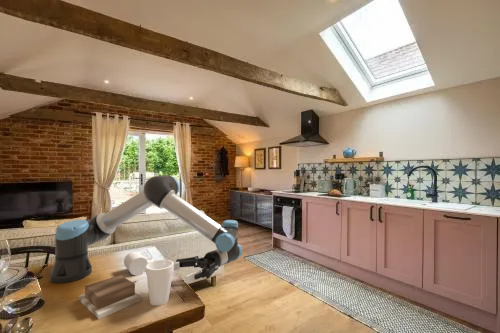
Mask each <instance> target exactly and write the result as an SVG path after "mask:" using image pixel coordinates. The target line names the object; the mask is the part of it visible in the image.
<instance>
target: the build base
mask: <svg viewBox="0 0 500 333" xmlns="http://www.w3.org/2000/svg"><path fill="white" fill-rule="evenodd" d="M142 298H143V296H142V295H140V294H139V293H137V292H136V283H135V282H133V281H131V280H130V279H127V278H126V277H124V276H122V275H121V274H119V275H116V276H115V275H114V276H113V277H110V278H106V279H102V280H100V281H97V282H93V283H90V284H87V285H85V286H84V293H83V294H80V295H78V301H79V303H81V304H82V305H83V306H84V307H85V308H86V309H87V310H88V311H89V312H91V313H92V314H93V316H94V317H95V318H97V320H100V319H104V318H105V317H108V316H109V315H110V316H111V315H112V314H114V313H116V312H118V311H121V310H124V309H126V308H129V307H131V306H133V305H135V304H137V303H139V302H142V300H143V299H142Z"/></svg>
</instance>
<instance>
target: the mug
mask: <svg viewBox="0 0 500 333" xmlns="http://www.w3.org/2000/svg"><path fill="white" fill-rule="evenodd" d="M153 261H155V258H154V257H152V256H151V257H150V256H144V255H142V254H141V253H140V252H139V251H131V252H129V253H128V254H126V255H125V257H124V260H123V265H124V266H125V267H126V269H127V270H128V272H130V274H131V275H133V276H140V275H143V273H146V265H147V264H148V263H150V262H153Z"/></svg>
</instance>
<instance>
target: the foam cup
mask: <svg viewBox="0 0 500 333" xmlns="http://www.w3.org/2000/svg"><path fill="white" fill-rule="evenodd" d="M174 263H175V262H174V261H173V260H169V259H158V260H154V261H153V262H150V263H148V264H147V265H146V270H145V275H146V279H147V288H148V289H147V290H148V296H149V302H150V303H149V304H150V305H151V306H155V307H156V306H162V305H165V304H166V303H168V301H169V299H170V292H171V285H172V282H173V281H172V280H173V274H174V271H175V270H174ZM173 270H174V271H173Z"/></svg>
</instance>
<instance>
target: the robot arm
mask: <svg viewBox="0 0 500 333" xmlns="http://www.w3.org/2000/svg"><path fill="white" fill-rule="evenodd" d="M179 191H180V183H179V181H178V179H177V178H176V177H174V176H172V175H167V174H166V175H154V176H151V177H150V178H148V179H147V180H146V181H145V183H144V185H143V190H142V191H140V192H139V193H136V195H134V196H131V197H130V198H129V199H127V200H126V201H124V202H123V203H121V204H119V205H118V206H116V207H114V208H112V209H111V210H109V211H107V212H100V213H98V214H97V215H94V216H93V217H91V218H90V219H76V220H75V219H74V220H70V221H66V222H63V223H60V224H59V225H58V226H57V227H56V230H55V235H54V240H55V242H54V243H55V244H54V246H55V247H54V248H55V249H54V250H55V254H54V256H55V257H54V263H53V265H52V268H51V270H50V273H49V276H48V278H49V282H51V283H54V284H62V283H71V282H74V281H78V280H81V279H84V278H86V277H88V276H90V274H92V273H93V267H92V264H91V263H92V262H91V260H90V258H89V255H88V254H89V252H88V251H89V249H88V248H89V246H91V245H93V244H95V243H98V242H102V241H105V239H107V238H108V237H109V236H111V234H113V233H114V232H115V231H116V228H118V227H119V226H120V225H122V224H124V223H126V222H127V221H129V220H130V219H132V218H134V217H135V216H137V215H139V214H141V213H142V212H144V211H145V210H147V209H149V208H150V207H152V206H156V207H157V208H159V209H165V211H167V212H169V213H170V214H172V215H174V217H177V219H179V220H180V221H182V222H183V223H185V224H186V225H187V226H190V228H192V229H193V230H195V231H196V232H198V233H199V234H201V235H202V236H204V237H205V238H207V239H208V240H210V241H211V242H212V243H214V244H215V247H216V249H214V250H211V251H208V252H206V253H205V255H204V257H200V258H199V255H196V256H191V257H184V258H177V259H175V262H173V263H174V270H173V272H174V271H176V270H179V269H180V268H189V267H190V268H191V267H194V268H200V270H196V271H195V272H192V273H189V274H187V275H186V276H185V284H190V283H193V282H195V281H197V280H199V279H201V278H202V279H204V278H206V279H210V278H211V277H212V275H213V274H214V273H215V271H217V270H219V267H220V268H221V267H222V266H224V265H226V264H229V263H231V262H234V261H236V260H238V259H239V258H241V257H242V255H243V248H242V246H241V244H239V222H238V221H237V220H234V219H226V220H224V221H223V222H222V225H221V224H219V223H218V222H216V221H215V220H213V219H212V218H211V217H209V216H208V215H206V214H205V213H204V212H202V211H200V209H197V208H196V207H195V206H193V205H192V204H190V203H189V202H187V200H185V199H183V198H182V197H180V196H179V195H178V193H179Z"/></svg>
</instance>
